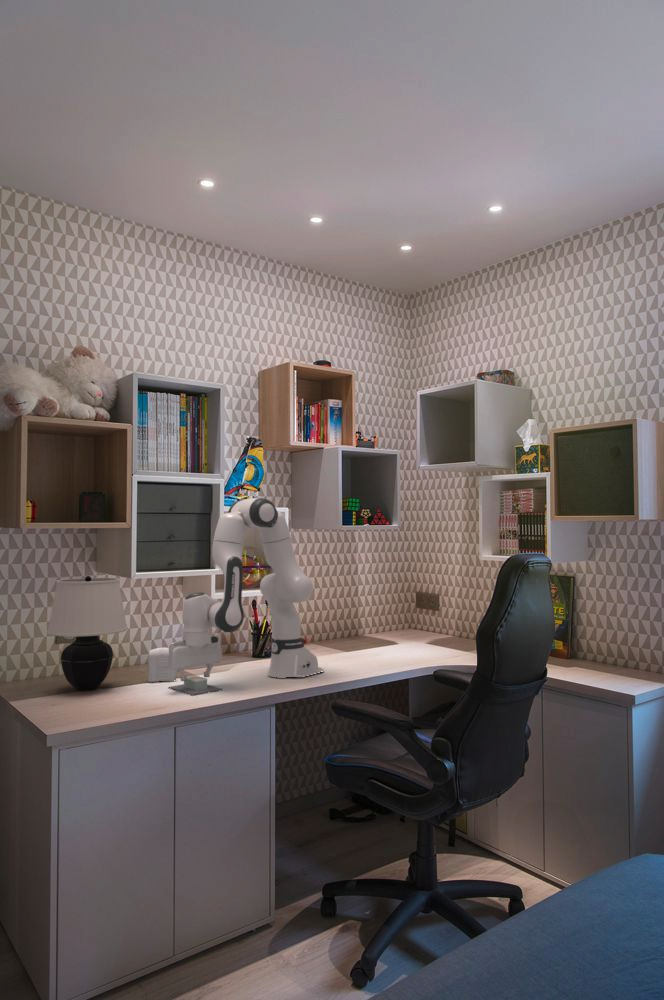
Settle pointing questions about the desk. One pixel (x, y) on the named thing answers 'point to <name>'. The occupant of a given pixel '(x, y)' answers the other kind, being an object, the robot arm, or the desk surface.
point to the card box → (195, 682)
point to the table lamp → (87, 627)
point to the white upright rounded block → (159, 666)
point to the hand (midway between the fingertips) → (195, 678)
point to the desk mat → (194, 692)
